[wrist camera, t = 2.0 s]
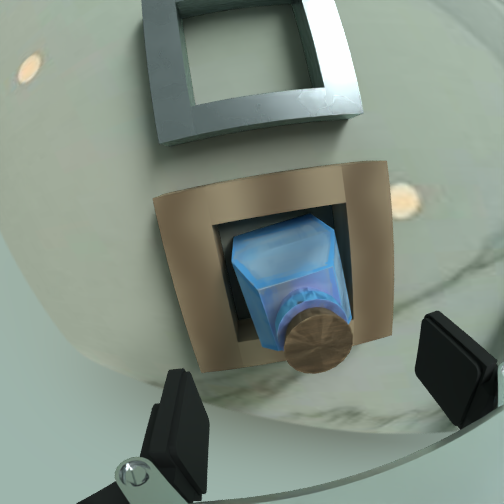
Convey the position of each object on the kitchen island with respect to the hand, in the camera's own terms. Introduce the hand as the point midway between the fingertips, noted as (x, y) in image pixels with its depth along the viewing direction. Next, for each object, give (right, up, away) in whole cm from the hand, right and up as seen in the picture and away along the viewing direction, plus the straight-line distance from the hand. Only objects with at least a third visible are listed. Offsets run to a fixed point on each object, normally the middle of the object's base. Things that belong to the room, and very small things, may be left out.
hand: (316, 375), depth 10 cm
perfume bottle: (0, +4, +14) cm, 14 cm away
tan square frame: (0, +4, +13) cm, 14 cm away
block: (-3, +20, +9) cm, 22 cm away
